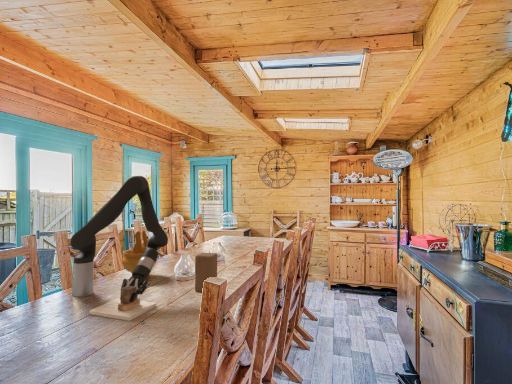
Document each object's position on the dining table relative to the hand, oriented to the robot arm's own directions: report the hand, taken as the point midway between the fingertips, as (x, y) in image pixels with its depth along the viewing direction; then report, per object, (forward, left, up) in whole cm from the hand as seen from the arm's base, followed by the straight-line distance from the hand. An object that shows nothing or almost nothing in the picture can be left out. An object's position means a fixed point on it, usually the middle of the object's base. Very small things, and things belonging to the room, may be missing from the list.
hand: (126, 301), depth 138 cm
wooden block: (+19, +41, -5) cm, 45 cm away
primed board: (-3, +2, -5) cm, 6 cm away
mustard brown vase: (-33, +50, -5) cm, 60 cm away
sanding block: (0, +2, -3) cm, 4 cm away
